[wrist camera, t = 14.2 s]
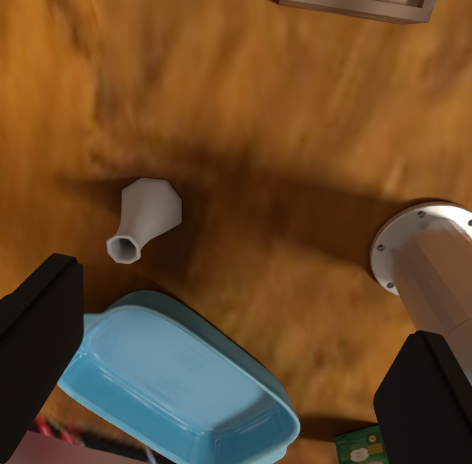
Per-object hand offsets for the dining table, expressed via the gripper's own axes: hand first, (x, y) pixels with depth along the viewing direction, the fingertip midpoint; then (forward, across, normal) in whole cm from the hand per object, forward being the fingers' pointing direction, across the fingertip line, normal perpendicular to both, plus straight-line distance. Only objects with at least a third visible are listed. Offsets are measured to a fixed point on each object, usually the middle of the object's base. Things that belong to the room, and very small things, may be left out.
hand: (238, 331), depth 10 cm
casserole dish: (+31, +3, +37) cm, 48 cm away
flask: (+30, +10, +12) cm, 34 cm away
